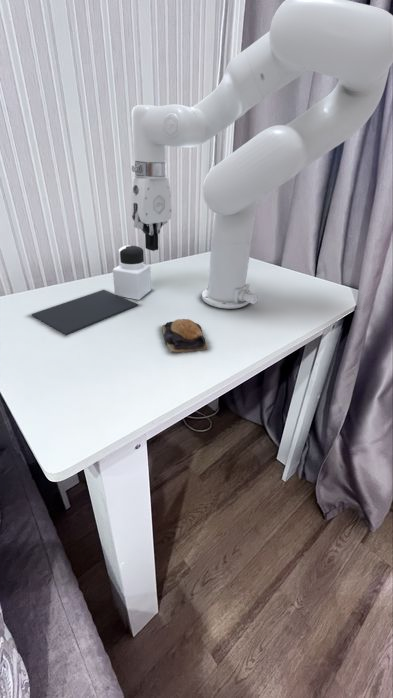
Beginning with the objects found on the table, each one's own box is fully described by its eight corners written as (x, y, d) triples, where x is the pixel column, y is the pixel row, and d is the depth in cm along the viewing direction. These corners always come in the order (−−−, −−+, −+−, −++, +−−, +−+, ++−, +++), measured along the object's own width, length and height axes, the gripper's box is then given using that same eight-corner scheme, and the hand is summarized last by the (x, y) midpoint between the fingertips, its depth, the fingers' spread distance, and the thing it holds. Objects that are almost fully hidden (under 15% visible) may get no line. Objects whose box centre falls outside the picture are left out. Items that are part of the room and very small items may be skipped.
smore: (159, 328, 72) (159, 312, 70) (197, 325, 74) (197, 310, 72) (168, 354, 64) (168, 337, 62) (210, 349, 65) (211, 333, 64)
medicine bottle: (151, 290, 90) (150, 245, 83) (139, 300, 84) (137, 253, 77) (128, 286, 91) (125, 242, 85) (114, 295, 86) (110, 249, 79)
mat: (137, 305, 81) (137, 304, 81) (65, 335, 68) (65, 333, 67) (103, 291, 88) (103, 289, 88) (31, 315, 74) (31, 313, 74)
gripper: (137, 173, 71) (140, 258, 80) (183, 171, 81) (181, 247, 90) (114, 169, 74) (120, 251, 84) (161, 168, 85) (161, 241, 94)
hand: (151, 249), depth 87 cm, fingers closed
